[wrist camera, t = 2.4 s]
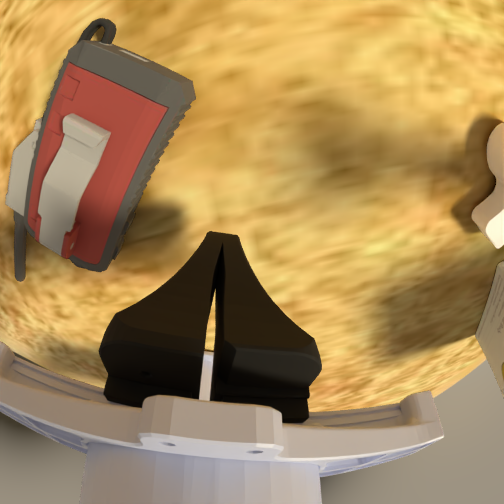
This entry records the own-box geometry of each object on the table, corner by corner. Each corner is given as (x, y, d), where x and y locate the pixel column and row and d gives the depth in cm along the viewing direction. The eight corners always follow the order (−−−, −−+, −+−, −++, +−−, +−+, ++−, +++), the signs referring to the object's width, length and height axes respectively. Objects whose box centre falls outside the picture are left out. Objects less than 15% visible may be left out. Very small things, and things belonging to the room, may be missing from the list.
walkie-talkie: (84, 11, 8) (18, 263, 17) (34, 3, 4) (-7, 298, 14) (221, 69, 11) (99, 310, 20) (209, 66, 7) (82, 352, 17)
